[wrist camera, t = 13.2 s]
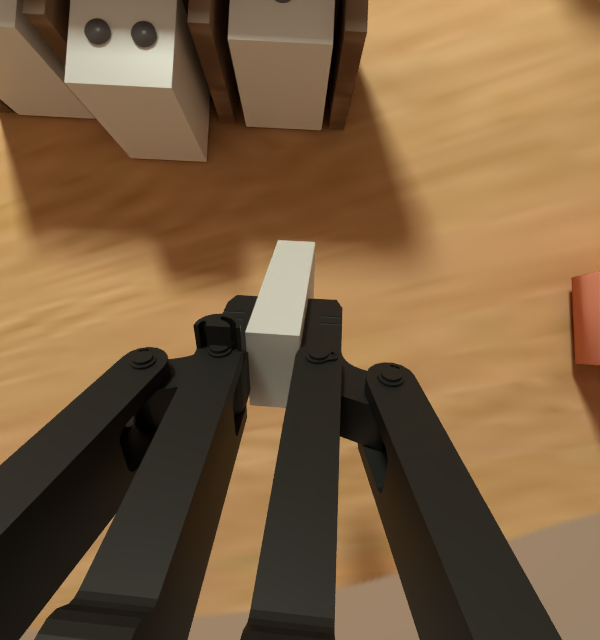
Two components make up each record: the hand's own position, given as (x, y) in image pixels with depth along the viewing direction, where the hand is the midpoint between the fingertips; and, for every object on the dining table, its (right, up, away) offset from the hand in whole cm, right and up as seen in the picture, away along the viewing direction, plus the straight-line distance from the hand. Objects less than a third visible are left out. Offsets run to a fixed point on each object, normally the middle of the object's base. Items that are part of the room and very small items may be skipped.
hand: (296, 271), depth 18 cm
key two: (-10, +14, +17) cm, 24 cm away
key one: (-1, +16, +17) cm, 24 cm away
